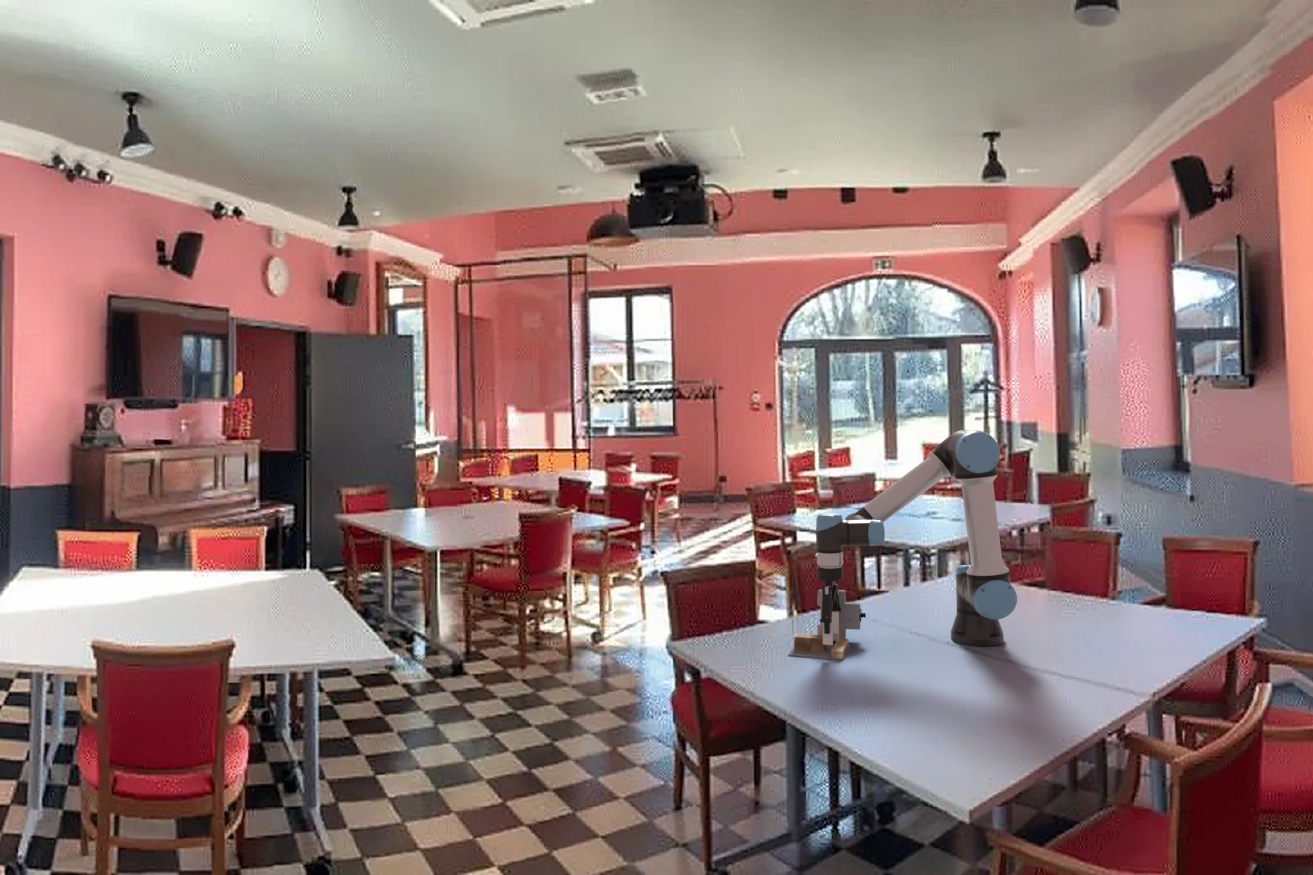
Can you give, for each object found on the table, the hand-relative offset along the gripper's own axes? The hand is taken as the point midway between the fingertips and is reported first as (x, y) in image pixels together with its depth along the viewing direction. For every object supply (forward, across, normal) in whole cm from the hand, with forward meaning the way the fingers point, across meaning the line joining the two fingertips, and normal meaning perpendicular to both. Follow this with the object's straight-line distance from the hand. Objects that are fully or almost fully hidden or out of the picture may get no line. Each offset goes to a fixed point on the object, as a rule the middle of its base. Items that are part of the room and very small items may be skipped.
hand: (831, 638), depth 249 cm
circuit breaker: (+4, -12, +2) cm, 12 cm away
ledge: (+4, 0, +2) cm, 5 cm away
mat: (+4, 0, -4) cm, 5 cm away
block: (+2, 0, -2) cm, 2 cm away
